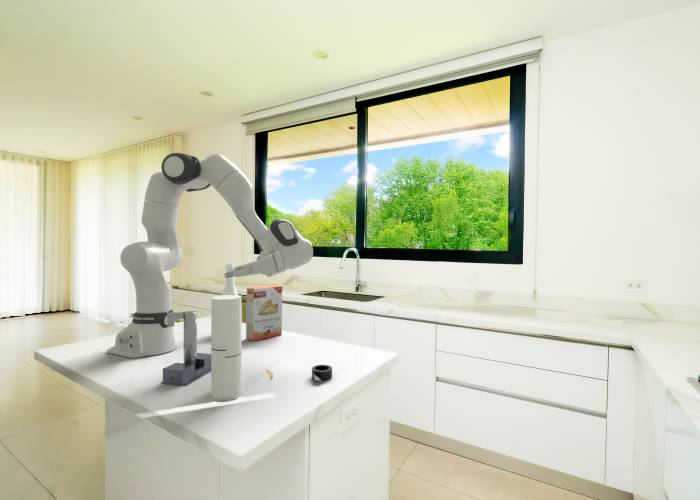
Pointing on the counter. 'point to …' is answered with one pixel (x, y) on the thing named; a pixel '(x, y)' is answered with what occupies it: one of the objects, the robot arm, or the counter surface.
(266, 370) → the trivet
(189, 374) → the vise
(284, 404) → the counter surface
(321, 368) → the black round winged cup
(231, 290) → the white long rounded piece
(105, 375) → the counter surface
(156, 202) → the robot arm
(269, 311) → the cracker box
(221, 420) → the counter surface
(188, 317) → the brushed metal post
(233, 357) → the cylindrical container
